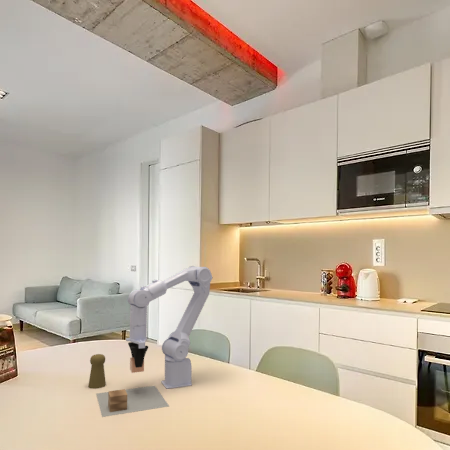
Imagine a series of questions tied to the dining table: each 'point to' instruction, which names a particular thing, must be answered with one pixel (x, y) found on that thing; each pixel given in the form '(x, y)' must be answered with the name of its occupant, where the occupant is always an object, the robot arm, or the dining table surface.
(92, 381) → the olive pawn
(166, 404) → the mat
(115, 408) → the tower bottom
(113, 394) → the tower top
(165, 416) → the dining table surface
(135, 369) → the cube
